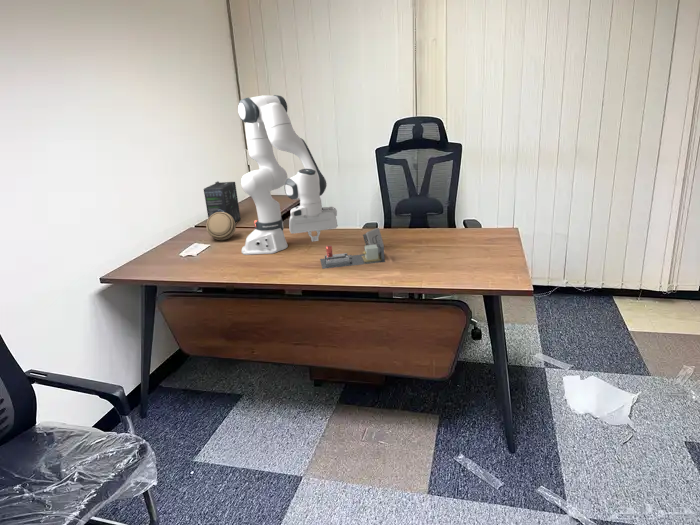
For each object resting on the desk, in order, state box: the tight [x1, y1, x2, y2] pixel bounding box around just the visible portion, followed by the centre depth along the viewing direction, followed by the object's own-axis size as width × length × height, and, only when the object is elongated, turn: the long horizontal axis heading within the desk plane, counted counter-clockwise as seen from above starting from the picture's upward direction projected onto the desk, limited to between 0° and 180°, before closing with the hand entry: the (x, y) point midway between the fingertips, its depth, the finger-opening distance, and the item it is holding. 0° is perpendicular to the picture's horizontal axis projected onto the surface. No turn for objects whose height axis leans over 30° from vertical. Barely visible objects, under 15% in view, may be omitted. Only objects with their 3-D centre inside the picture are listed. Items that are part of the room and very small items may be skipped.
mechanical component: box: [205, 212, 237, 241], centre depth 256 cm, size 15×15×15 cm
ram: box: [325, 245, 352, 260], centre depth 208 cm, size 11×3×7 cm, turn 98°
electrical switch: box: [362, 227, 384, 246], centre depth 225 cm, size 9×5×9 cm, turn 141°
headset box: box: [203, 181, 241, 224], centre depth 285 cm, size 22×12×26 cm, turn 174°
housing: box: [362, 245, 378, 260], centre depth 210 cm, size 6×5×5 cm
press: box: [319, 241, 386, 270], centre depth 209 cm, size 27×13×7 cm, turn 98°
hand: (315, 240), depth 204 cm, fingers closed
